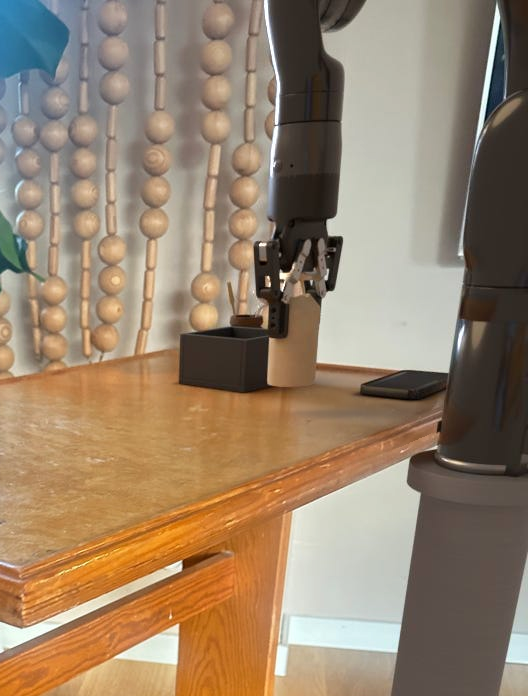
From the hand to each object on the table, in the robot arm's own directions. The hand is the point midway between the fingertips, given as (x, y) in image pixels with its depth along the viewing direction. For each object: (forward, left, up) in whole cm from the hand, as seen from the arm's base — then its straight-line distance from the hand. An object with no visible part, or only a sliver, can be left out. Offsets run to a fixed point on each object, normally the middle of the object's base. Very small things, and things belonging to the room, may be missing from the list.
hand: (293, 334), depth 106 cm
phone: (-3, -24, -9) cm, 26 cm away
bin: (+18, -14, -9) cm, 25 cm away
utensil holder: (+29, -30, -9) cm, 43 cm away
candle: (0, 0, -6) cm, 6 cm away
